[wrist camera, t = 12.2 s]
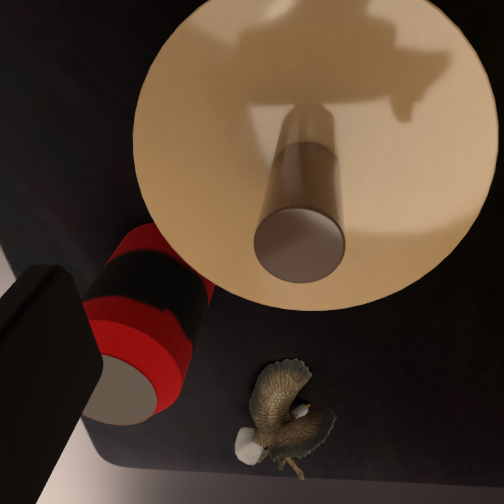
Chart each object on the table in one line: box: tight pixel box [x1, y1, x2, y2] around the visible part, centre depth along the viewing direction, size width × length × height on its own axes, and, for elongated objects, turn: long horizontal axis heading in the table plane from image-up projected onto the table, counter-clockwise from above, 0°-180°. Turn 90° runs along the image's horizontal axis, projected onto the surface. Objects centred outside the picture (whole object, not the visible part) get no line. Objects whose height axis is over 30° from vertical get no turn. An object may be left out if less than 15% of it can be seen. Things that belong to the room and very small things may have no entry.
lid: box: [133, 0, 499, 311], centre depth 15 cm, size 13×13×6 cm
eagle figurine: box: [235, 358, 337, 480], centre depth 38 cm, size 8×7×9 cm
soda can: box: [81, 223, 215, 425], centre depth 29 cm, size 8×8×12 cm
